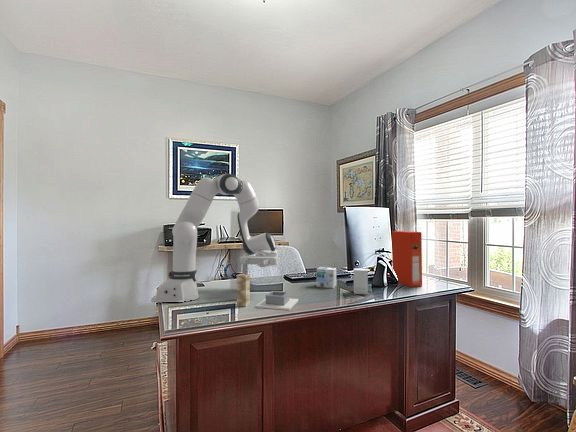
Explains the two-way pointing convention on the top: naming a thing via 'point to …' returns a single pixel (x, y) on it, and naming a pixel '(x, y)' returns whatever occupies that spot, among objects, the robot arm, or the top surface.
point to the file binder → (407, 257)
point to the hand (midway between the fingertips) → (253, 262)
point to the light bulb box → (326, 277)
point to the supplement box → (360, 281)
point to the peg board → (277, 301)
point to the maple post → (243, 290)
